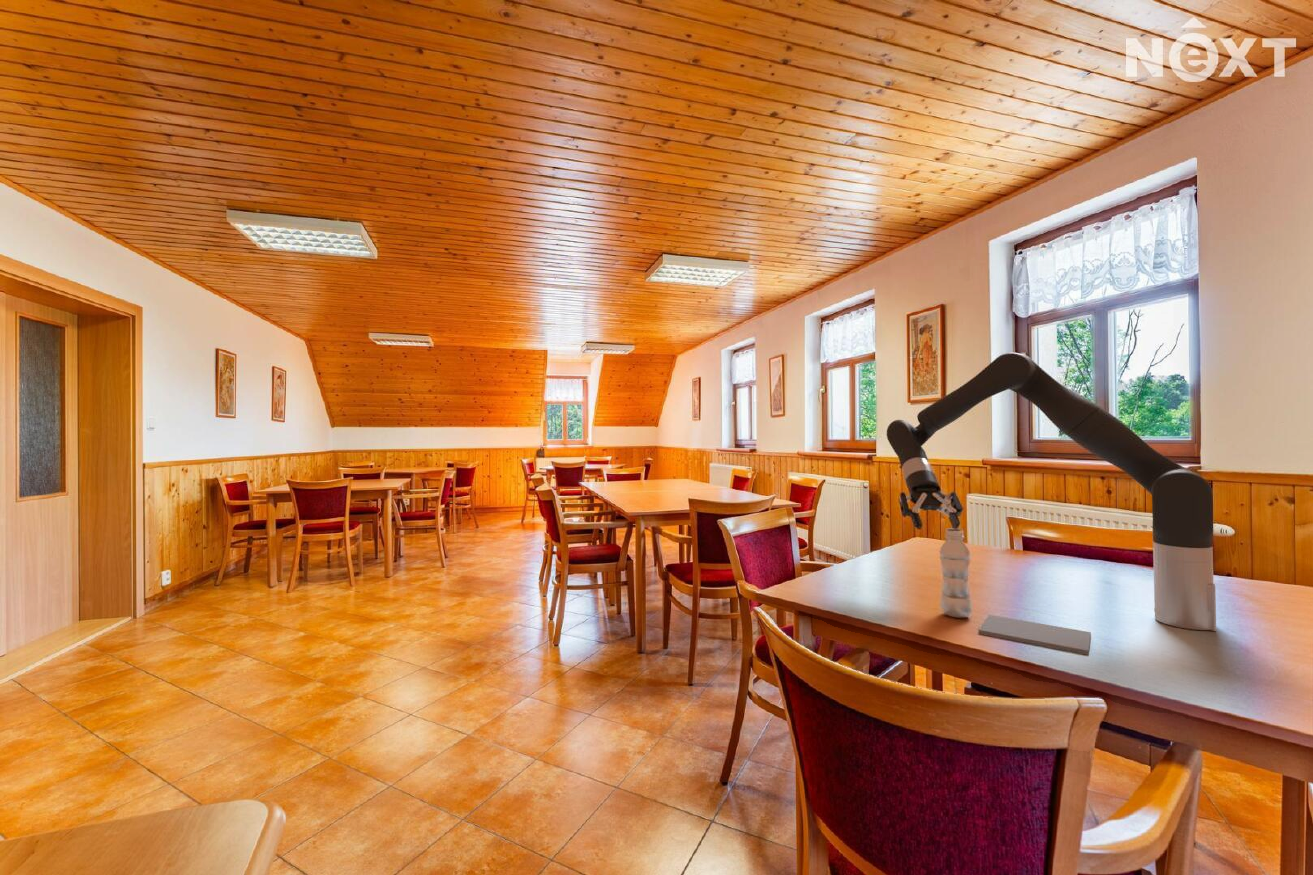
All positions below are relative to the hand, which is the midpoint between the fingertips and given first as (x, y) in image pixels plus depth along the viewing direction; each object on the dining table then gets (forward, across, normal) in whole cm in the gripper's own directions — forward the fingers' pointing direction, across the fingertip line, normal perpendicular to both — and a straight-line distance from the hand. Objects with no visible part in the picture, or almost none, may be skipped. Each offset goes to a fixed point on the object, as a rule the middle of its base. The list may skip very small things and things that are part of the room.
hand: (938, 527), depth 132 cm
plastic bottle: (+20, 0, +7) cm, 21 cm away
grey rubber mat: (+28, +11, -1) cm, 30 cm away
